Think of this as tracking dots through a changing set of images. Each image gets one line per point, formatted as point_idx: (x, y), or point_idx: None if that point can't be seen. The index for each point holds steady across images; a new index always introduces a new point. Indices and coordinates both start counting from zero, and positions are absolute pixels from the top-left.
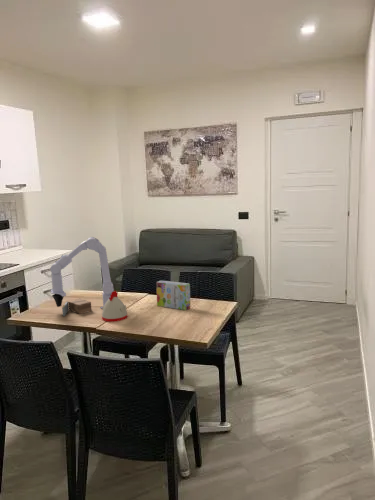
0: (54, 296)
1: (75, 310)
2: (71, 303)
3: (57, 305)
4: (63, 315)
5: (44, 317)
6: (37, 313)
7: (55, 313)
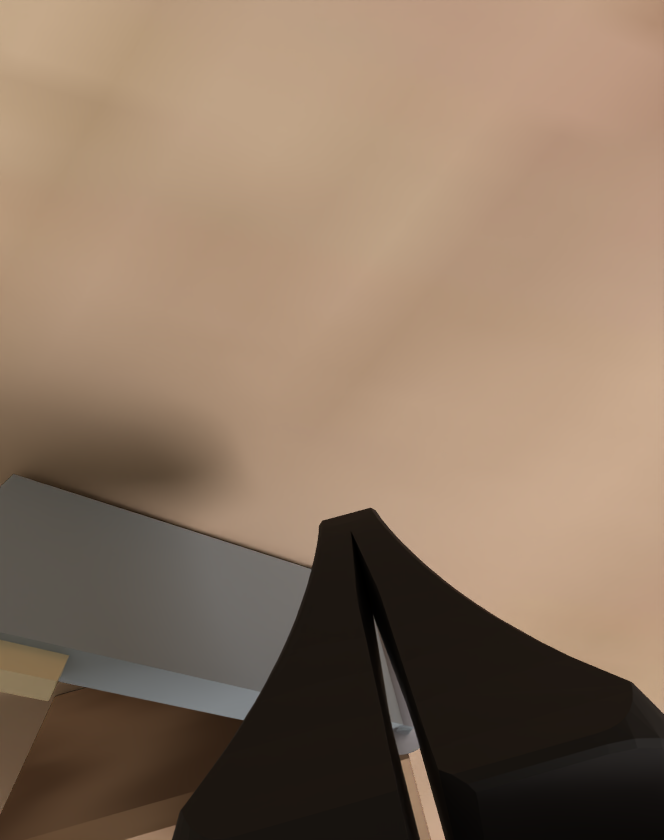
0: (325, 810)
1: None
2: None
3: (330, 532)
4: (4, 491)
5: (182, 117)
6: (613, 58)
7: (332, 397)
